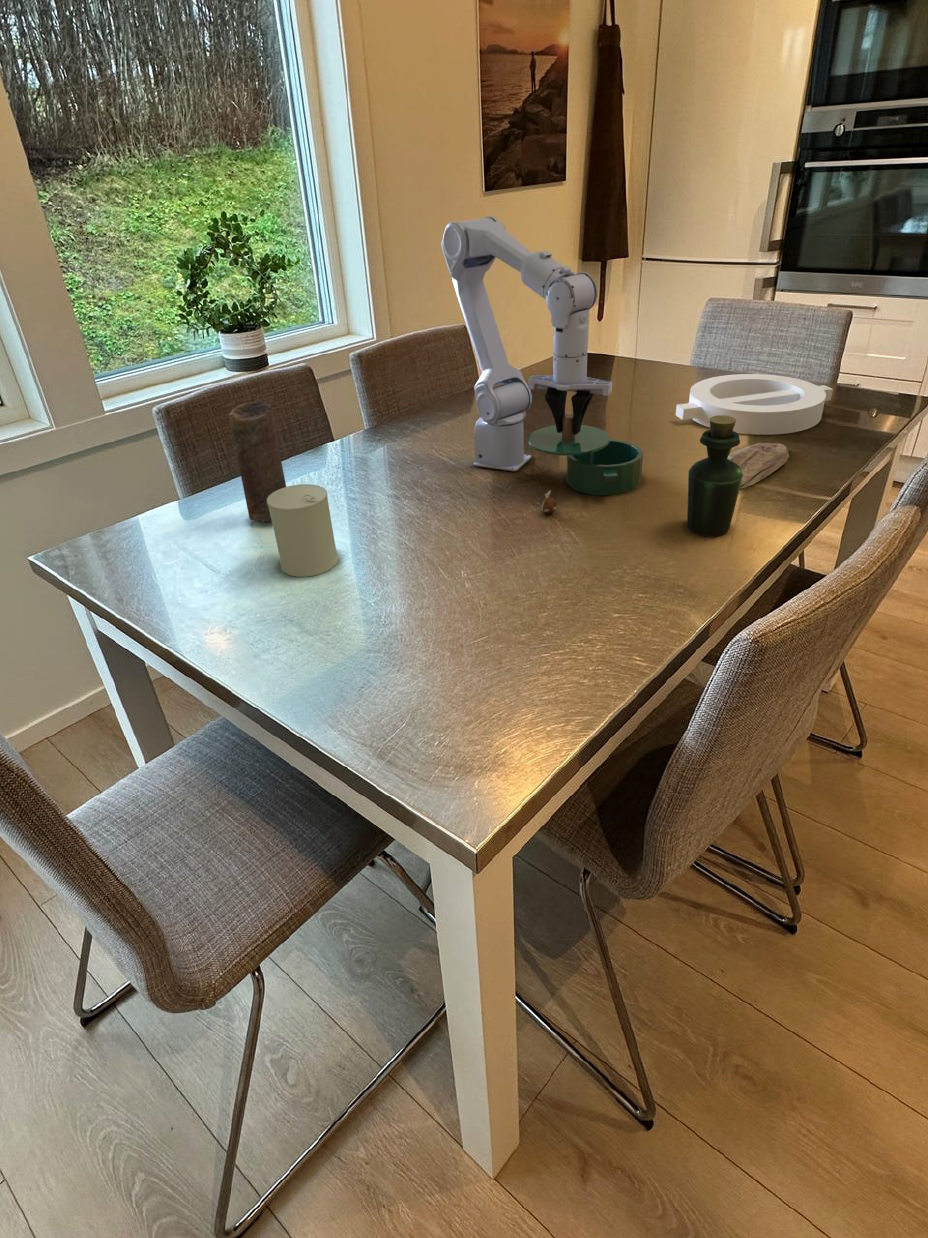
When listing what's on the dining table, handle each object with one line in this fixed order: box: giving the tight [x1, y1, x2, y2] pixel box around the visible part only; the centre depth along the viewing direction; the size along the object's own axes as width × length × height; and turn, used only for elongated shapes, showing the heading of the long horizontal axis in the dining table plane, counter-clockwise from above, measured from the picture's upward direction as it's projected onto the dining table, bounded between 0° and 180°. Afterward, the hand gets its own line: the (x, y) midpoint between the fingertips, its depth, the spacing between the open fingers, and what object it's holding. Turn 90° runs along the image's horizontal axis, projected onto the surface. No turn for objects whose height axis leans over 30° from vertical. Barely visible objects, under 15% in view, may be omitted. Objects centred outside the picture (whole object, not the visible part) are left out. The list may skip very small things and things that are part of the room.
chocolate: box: [541, 489, 557, 515], centre depth 127 cm, size 3×2×4 cm
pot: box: [566, 439, 644, 496], centre depth 138 cm, size 14×19×6 cm
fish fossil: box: [727, 442, 790, 490], centre depth 140 cm, size 26×10×1 cm, turn 143°
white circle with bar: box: [675, 373, 834, 436], centre depth 164 cm, size 28×28×5 cm
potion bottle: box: [686, 415, 743, 537], centre depth 116 cm, size 8×8×18 cm
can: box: [267, 483, 340, 578], centre depth 115 cm, size 9×9×12 cm
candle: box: [228, 401, 287, 524], centre depth 128 cm, size 8×7×20 cm
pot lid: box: [527, 413, 611, 456], centre depth 132 cm, size 15×15×5 cm
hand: (568, 431), depth 132 cm, fingers closed on pot lid, 2 cm apart
